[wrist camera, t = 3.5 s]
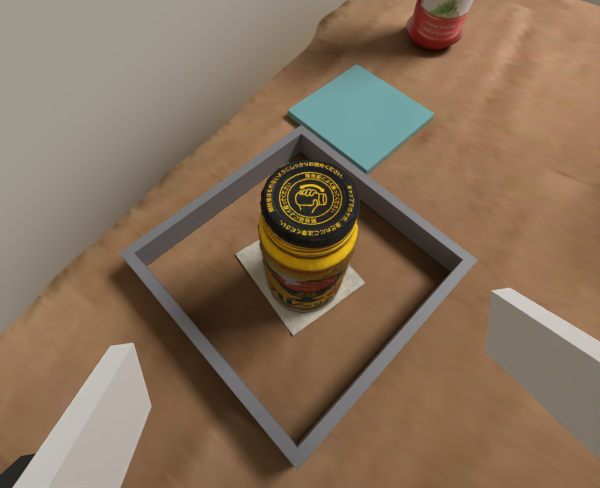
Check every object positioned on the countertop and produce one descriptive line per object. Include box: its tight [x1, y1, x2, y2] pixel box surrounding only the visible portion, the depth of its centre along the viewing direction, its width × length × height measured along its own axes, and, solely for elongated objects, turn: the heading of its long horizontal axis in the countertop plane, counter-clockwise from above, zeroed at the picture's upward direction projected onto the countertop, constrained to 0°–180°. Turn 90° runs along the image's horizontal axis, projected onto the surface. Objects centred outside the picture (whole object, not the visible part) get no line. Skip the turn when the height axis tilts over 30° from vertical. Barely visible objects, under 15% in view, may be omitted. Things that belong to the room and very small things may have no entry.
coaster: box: [288, 64, 435, 175], centre depth 36 cm, size 11×11×1 cm
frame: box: [120, 125, 477, 470], centre depth 27 cm, size 20×20×2 cm
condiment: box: [236, 160, 365, 336], centre depth 23 cm, size 7×8×12 cm
